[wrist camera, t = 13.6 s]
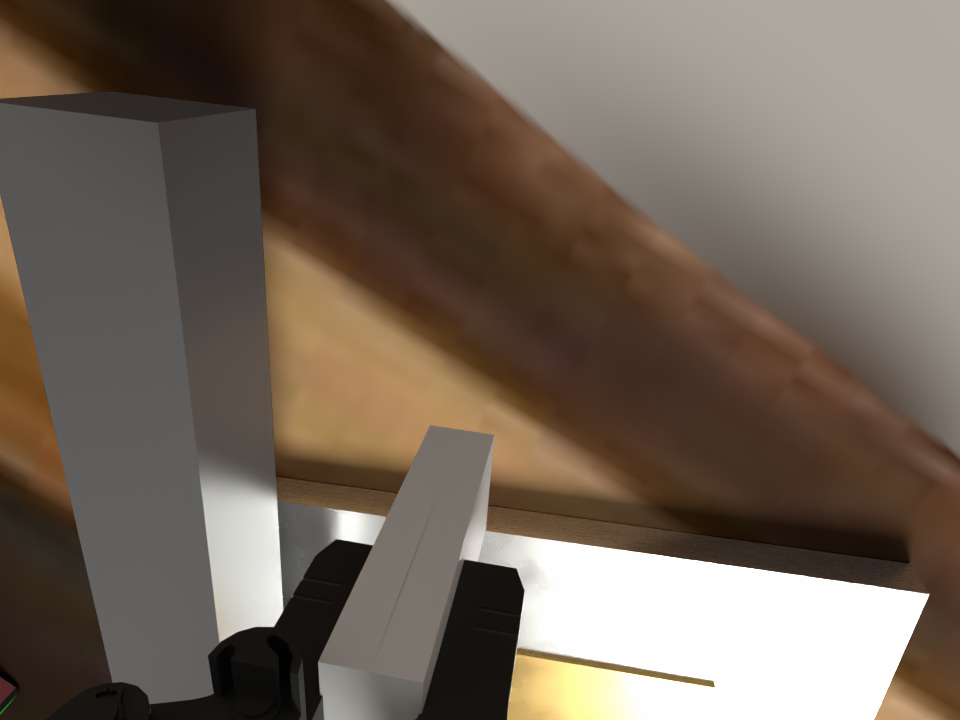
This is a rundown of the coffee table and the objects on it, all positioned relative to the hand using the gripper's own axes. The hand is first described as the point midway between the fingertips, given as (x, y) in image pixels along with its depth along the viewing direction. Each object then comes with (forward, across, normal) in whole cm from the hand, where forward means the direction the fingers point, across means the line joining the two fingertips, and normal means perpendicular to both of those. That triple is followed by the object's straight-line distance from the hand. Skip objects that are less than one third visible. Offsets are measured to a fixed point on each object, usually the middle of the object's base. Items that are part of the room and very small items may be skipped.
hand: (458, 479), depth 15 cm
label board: (+9, -2, +17) cm, 19 cm away
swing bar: (+4, +9, +6) cm, 11 cm away
